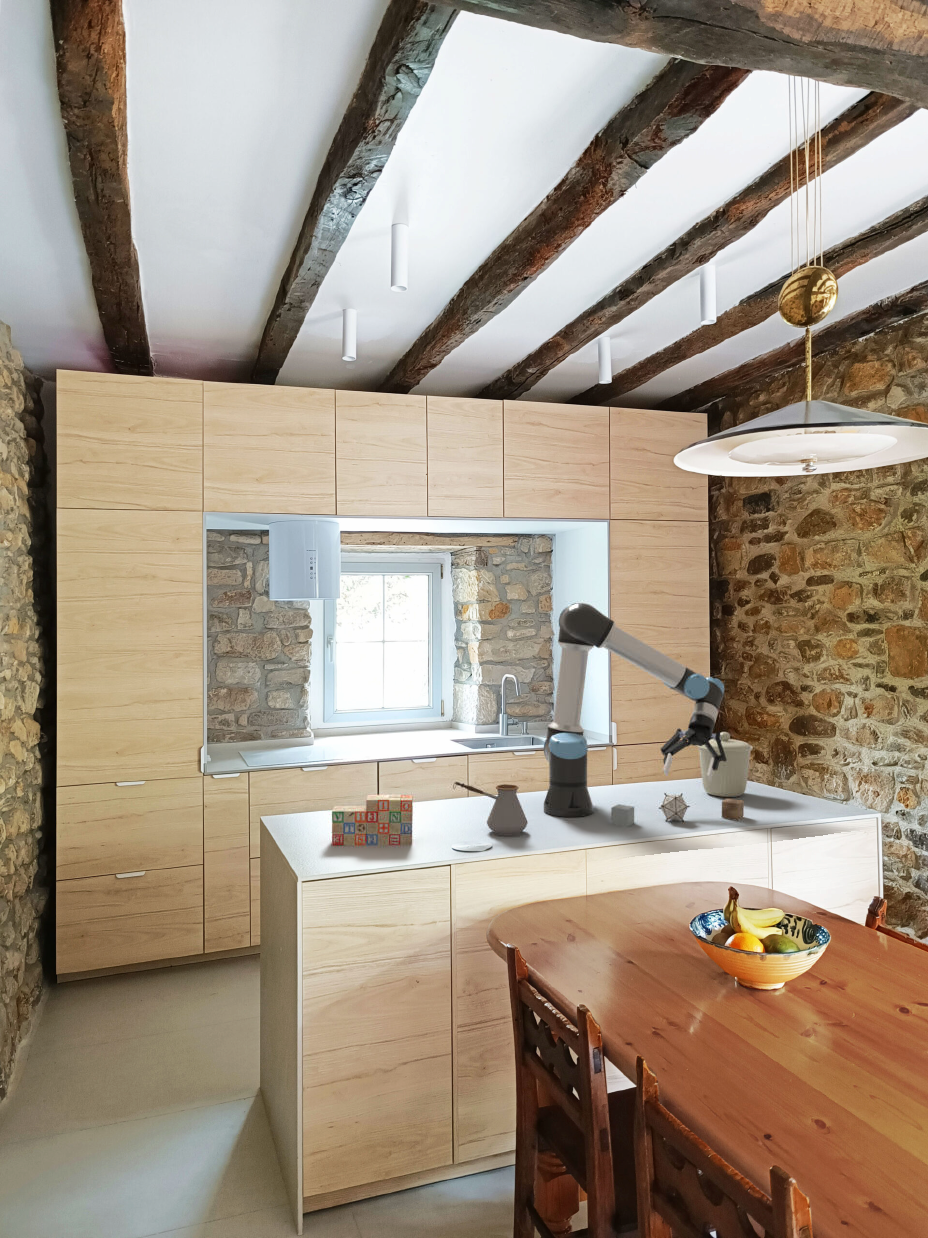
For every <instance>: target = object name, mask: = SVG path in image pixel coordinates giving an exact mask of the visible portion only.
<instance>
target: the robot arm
mask: <svg viewBox="0 0 928 1238" xmlns="http://www.w3.org/2000/svg"><path fill="white" fill-rule="evenodd" d="M558 617H559V618H558V626H559V632H558V639H557V640H558V641H557V643H558V645H560V648H561V655H560V663H559V671H558V680H557V689H556V696H555V704H554V712H553V720H552V722H551V723H549V724H548V725H547V732H546V739H545V740H544V742H543V753H544V757H545V759H546V761H547V762H548V763H549V765H548V766H549V770H548V771H549V773H548V774H549V777H548V781H549V784H548V789H547V792H546V794H545V799H544V801H543V812H544V813H546V814H548V815H550V816H556V817H561V818H562V817H564V818H567V817H568V818H575V817H576V818H578V817H587V816H589V815H591V814H593V813H594V811H593V810H594V805H593V800H592V798H591V795H590V792H589V788H588V749H589V745H588V742H587V738H586V737H585V736H584V730H585V729H583V727H582V726H581V716H582V709H583V699H584V692H585V683H586V675H587V674H586V673H587V666H588V660H589V659H588V658H589V657H588V656H589V652H590V651H591V650H592V649H593V648H594V647H596V648H598V649H601V648H602V649H603V648H604V649H605V650H607V651H609V652H611V653H613V654H615V655H616V656H618V657H619V658H621V659H623V660H624V661H626V662H628V663H630V664H632V665H634V666H635V667H637V668H638V669H641V670H642V671H644V672H645V673H647V674H649V675H651V676H652V677H654V678H655V679H657V680H660V681H661V682H663V684H664V685H665V686H666V687H668V688H670V690H673V691H675V692H677V693H678V694H680V695H682V696H684V697H686V698H688V699H689V700H692V701H693V702H694V703H695V704H694V707H693V711H692V713H691V717H690V720H689V722H688V727H687V729H686V730H682V729H681V728H676V732H675V734H673V735H672V737H671V738H670V739H669V740H668V741H667V742H666V743H664V744H663V746H662V747H660V751H661V755H663V756H664V757H663V760H662V761H663V762H662V763H663V764H664V765H663V768H662V771H663V773H664V775H665V776H668V775H669V772H670V769H671V766H672V762H673V760H674V757H673V756H674V755H676V754H677V753H679V752H680V751H682V750H684V749H685V748H686V747H689V746H697V745H698V746H702V745H705V746H706V748H707V749H708V750H709V752H710V753H711V755H712V756H713V758H711V762H710V765H709V769H708V772H707V777H708V780H710V781H711V780H712V776H713V772H714V770H717V769H718V766H719V762H720V761H724V762H725V761H726V760H727V759H726V756H725V753H724V750H723V747H722V744H721V739H722V737H721V734H720V733H721V732H720V731H716V732H715V733H713V731H714V728H715V724H716V722H717V721H716V720H717V717H718V714H719V710H720V707H721V704H722V701H723V699H724V693H725V685H724V682H723V681H721V679H719V678H716V677H715V678H713V677H712V676H708V677H705V676H704V675H702V674H701V673H697V672H696V671H694V670H692V669H690V668H688V667H687V666H685V665H683V664H682V663H680V662H678V661H676V659H674V658H671V657H670V656H668V655H666V654H665V653H663V652H661V651H660V650H658V649H656V648H654V647H653V646H651V645H649V644H647V643H645V642H644V641H642V640H641V639H639V638H637V637H636V636H634V635H632V634H630V633H628V632H627V631H625V630H623V629H622V628H620V627H618V626H617V625H616V622H615V621H614V620H612V619H611V618H609V617H608V616H606V614H603V613H602V612H601V611H599V610H598V609H597V608H595V607H594V606H593V605H591V604H588V603H586V602H585V603H584V602H577V603H576V602H575V603H574V602H573V603H571V604H568V605H567V606H566V607H564V609H563V610H562V611H561V612H560V614H559V616H558ZM711 739H714V740H715V741H716V742H717V745H718V748H719V751H720V754H721V755H718V754H717V753H716V751H715V750H714V748H713V747H712V746H711V744H710V743H709V741H710V740H711Z"/></svg>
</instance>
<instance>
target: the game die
mask: <svg viewBox="0 0 928 1238" xmlns="http://www.w3.org/2000/svg"><path fill="white" fill-rule="evenodd" d="M663 794H664V795H665V797H664V799H663V801H662V804H661V805H660V807H658V809H659V810H661V811H662V813H663V814H664V815H663V816H665V822H668V821H669V820H672V821H673V820H676V821H678V820H679V821H680V820H681V821H682V822H683V823H685V820H684V817H685V815H686V812H687V810H688V808H690V807H691V806H690V805H687V803H686V801H685V800H684V798H683V796H684V795H683V793H681V794H679V795H677V794H667V793H666V792H664V793H663Z"/></svg>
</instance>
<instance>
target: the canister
mask: <svg viewBox="0 0 928 1238" xmlns="http://www.w3.org/2000/svg"><path fill="white" fill-rule="evenodd" d="M720 734H721V737H722V739H721V744H722V747H723V750H724V753H725V756H726V759H727V760H726V761H725V762H724V761H720V762H719V766H718V769H717V770H714V772H713V776H712V780H711V781H710V780H708V777H707V772H708V769H709V765H710V762H711V758H713V756H712V755H711V753H710V752H709V750H708V749H707V748H706V746H705V745H702V746H698V745H696V746H697V748H698V752H699V762H700V772H701V780H702V781H701V782H702V786H703V789H704V791H705V792H706V793H707V794H709V795H711V796H715V797H721V798H736V797H741V796H742V795H744V793H745V792H746V788H747V784H748V778H749V769H750V760H751V751H752V750H753V749H754V748H753V746H752V745H750V744H749V743H748V742H746V741H743V740H740V739H739V740H738V739H732V738H731V734H730V733H729V732H728V731H727V732H726V731H722V732H720ZM709 743H710V744H711V746H712V747H713V748H714V750H715V751H716V753H717V754H718V755H721V754H720V751H719V748H718V745H717V742H716V741H715V740H714V738H712V739H711V740H710V741H709Z"/></svg>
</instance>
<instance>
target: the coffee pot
mask: <svg viewBox="0 0 928 1238" xmlns="http://www.w3.org/2000/svg"><path fill="white" fill-rule="evenodd" d="M457 786H458V787H459V786H460V788H462V789H466V790H468V791H470V792H473V793H476V794H480V795H484V796H486V797H488V798H491V799H493V800H494V803H493V805H492V808H491V811H490V812H489V816H488V818H487V820H486V825H487V827H488V829H489V830H491V831H492V832H493V833H494V835H497V836H504V837H505V836H506V837H510V836H511V837H512V836H517V835H520V834H521V833H522V832H523V831H524V830H525V829H526V828H527V826H528V824H529V822H528V820H527V817H526V814H525V812H524V809H523V807H522V805H521V802H520V800H519V798H518V794H517V792H518V789H519V786H518V785H515V784H507V783H506V784H504V783H503V784H498V785H496V786H495V789H496V790H497V795H494V794H491V793H488V792H485V791H483V790H481V789H479V788H476V787H474V786H472V785H467V784H465V783H461V782H459V781H455V782H454V783H453V785H452V788H453V790H455V789H456V787H457Z"/></svg>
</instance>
